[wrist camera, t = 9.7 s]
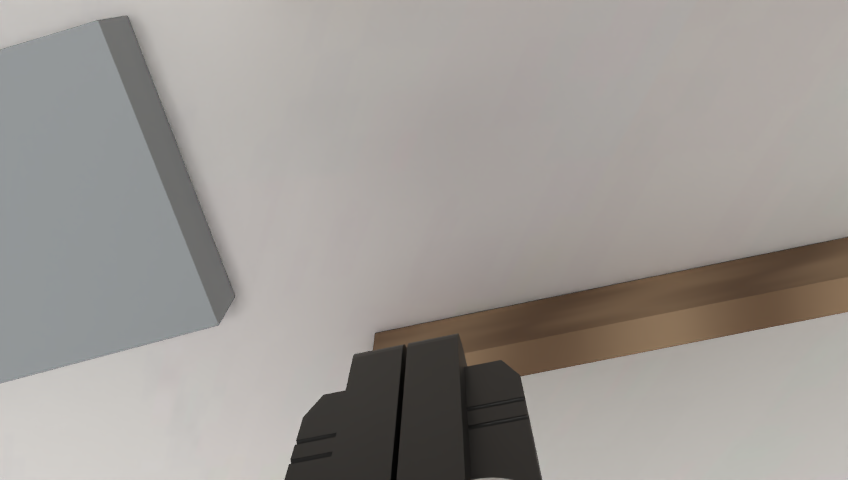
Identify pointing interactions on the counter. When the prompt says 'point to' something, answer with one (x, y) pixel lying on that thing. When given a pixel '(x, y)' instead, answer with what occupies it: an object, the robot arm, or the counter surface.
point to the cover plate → (95, 207)
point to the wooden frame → (649, 311)
